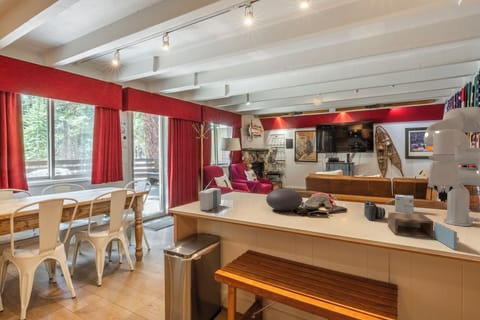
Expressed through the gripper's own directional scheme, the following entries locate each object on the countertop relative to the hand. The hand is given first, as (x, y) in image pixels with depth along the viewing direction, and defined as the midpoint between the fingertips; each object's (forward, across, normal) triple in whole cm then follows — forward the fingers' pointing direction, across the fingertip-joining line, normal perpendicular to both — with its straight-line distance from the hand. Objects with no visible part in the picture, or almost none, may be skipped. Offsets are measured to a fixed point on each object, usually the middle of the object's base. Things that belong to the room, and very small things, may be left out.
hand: (442, 201), depth 114 cm
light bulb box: (+21, -16, +65) cm, 70 cm away
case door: (+19, +2, +4) cm, 20 cm away
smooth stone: (+20, -86, +26) cm, 92 cm away
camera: (+20, -30, +35) cm, 51 cm away
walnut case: (+20, -12, +15) cm, 28 cm away
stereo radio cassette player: (+20, -134, +4) cm, 136 cm away
